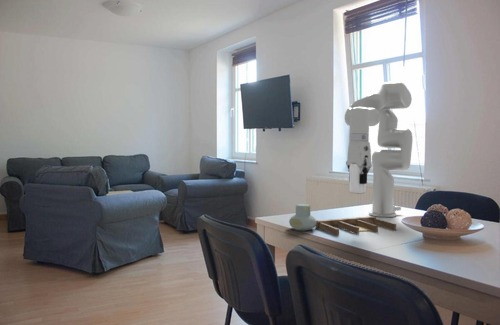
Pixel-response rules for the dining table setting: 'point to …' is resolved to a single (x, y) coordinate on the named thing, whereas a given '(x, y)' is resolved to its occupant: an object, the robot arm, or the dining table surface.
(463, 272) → the dining table surface
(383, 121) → the robot arm
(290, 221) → the air freshener
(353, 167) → the can
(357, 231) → the notch rack
